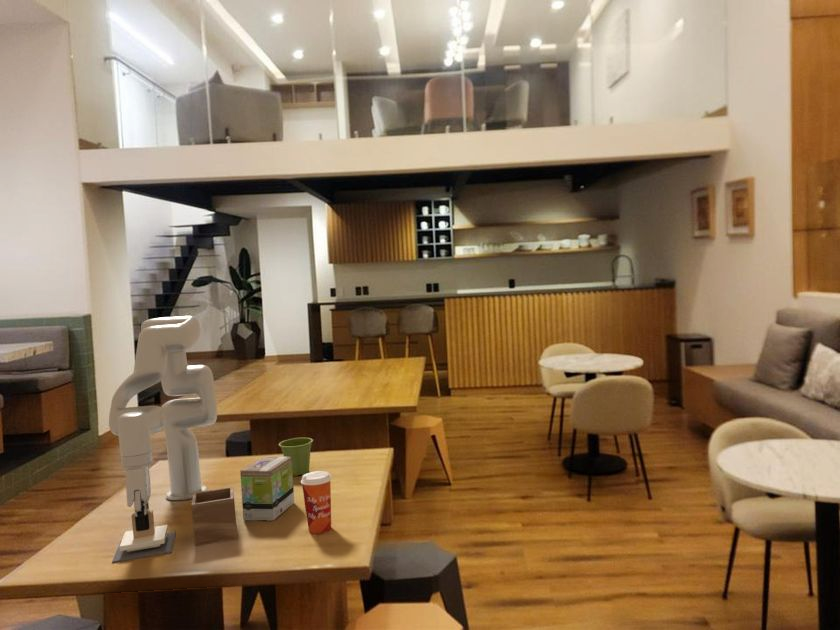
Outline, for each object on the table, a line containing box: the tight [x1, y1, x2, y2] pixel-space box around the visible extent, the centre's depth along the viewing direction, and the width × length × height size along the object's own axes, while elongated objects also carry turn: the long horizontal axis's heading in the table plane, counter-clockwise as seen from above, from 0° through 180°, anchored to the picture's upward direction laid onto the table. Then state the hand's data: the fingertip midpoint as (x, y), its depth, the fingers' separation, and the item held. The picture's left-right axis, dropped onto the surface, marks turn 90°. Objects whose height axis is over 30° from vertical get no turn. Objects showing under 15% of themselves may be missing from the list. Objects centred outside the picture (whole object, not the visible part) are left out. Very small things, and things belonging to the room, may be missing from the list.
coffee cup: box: [300, 470, 332, 535], centre depth 176 cm, size 8×8×15 cm
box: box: [191, 486, 238, 547], centre depth 177 cm, size 11×11×11 cm
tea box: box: [239, 456, 295, 522], centre depth 192 cm, size 15×10×15 cm, turn 168°
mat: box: [111, 531, 176, 564], centre depth 172 cm, size 14×14×1 cm
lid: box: [119, 509, 169, 552], centre depth 172 cm, size 11×11×8 cm
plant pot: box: [278, 437, 314, 477], centre depth 229 cm, size 12×12×11 cm
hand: (143, 527), depth 172 cm, fingers closed on lid
